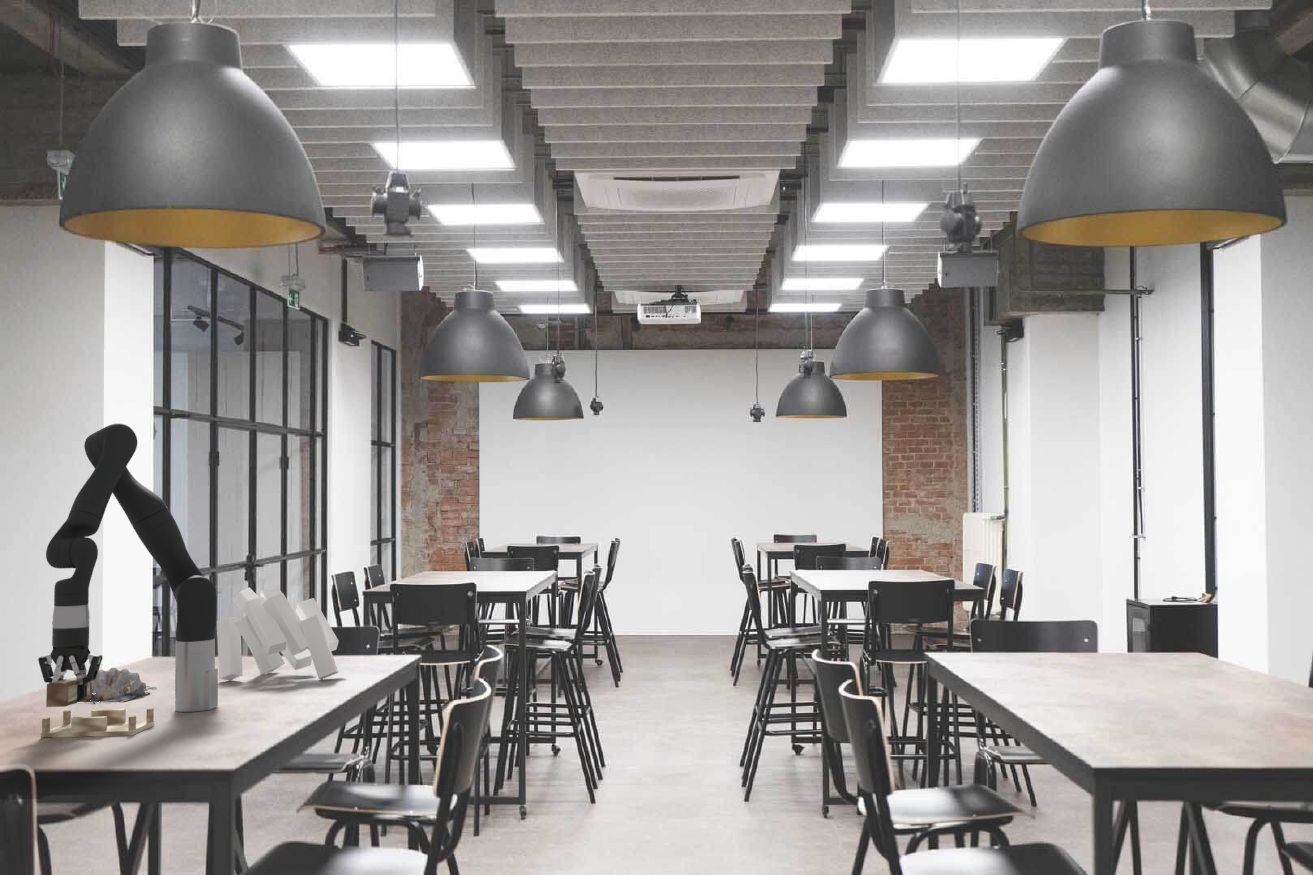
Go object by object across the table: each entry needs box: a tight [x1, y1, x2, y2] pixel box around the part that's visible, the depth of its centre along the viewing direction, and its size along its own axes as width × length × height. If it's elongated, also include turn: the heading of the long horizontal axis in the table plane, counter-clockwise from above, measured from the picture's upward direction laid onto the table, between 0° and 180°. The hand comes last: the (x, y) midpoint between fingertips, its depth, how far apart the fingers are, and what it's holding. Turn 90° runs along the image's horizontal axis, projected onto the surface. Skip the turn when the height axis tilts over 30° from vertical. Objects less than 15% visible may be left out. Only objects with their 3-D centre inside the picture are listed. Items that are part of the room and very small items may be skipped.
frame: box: [45, 675, 92, 708], centre depth 262 cm, size 4×12×5 cm, turn 1°
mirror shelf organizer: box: [40, 707, 155, 738], centre depth 262 cm, size 20×12×4 cm, turn 91°
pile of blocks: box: [216, 585, 340, 681], centre depth 343 cm, size 35×30×35 cm
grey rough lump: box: [80, 667, 157, 705], centre depth 315 cm, size 19×10×30 cm
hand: (69, 700), depth 262 cm, fingers closed on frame, 4 cm apart
